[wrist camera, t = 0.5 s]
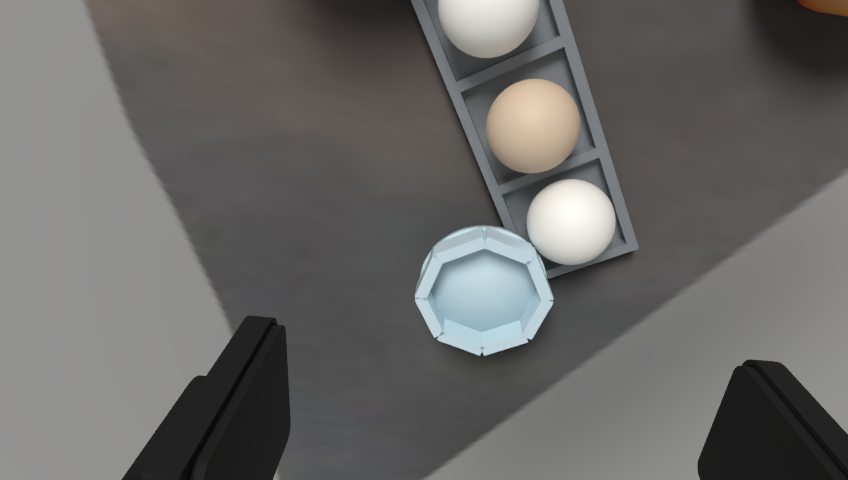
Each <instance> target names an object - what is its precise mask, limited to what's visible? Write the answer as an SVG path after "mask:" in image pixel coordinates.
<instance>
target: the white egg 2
mask: <svg viewBox="0 0 848 480" xmlns="http://www.w3.org/2000/svg"><path fill="white" fill-rule="evenodd" d="M526 223H527V231H528V235H529V238H530V240H531V242H532V244H533V245H534V247H535V248H536V249H537V250H538V252H539V253H541V254H542V255H543V256H544V257H546V258H547V259H549V260H551V261H553V262H556V263H559V264H564V265H577V264H582V263H586V262H588V261H591V260H592V259H594V258H596V257H597V256H599V255H600V254H601V253H602V252H603V251H604V250H605V249H606V248H607V246H608V245H609V243H610V242H611V240H612V238H613V235H614V231H615V226H616V218H615V212H614V208H613V206H612V203H611V201H610V200H609V198H608V197H607V196H606V194H605V193H604V192H603V191H602V190H601V189H599V188H598V187H597V186H595V185H593V184H591V183H589V182H586V181H583V180H578V179H565V180H560V181H557V182H554V183H552V184H550V185H548V186H546V187H545V188H544V189H542V190H541V191H540V192H539V193H538V194H537V195H536V196H535V198H534V199H533V201H532V203H531V205H530V207H529V210H528V214H527V221H526Z"/></svg>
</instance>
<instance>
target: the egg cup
mask: <svg viewBox="0 0 848 480" xmlns="http://www.w3.org/2000/svg"><path fill="white" fill-rule="evenodd" d="M552 299H554V298H553V295H552V291H551V288H550V285H549V282H548V279H547V275H546V271H545V267H544V264H543V261H542V259H541V257H540V255H539V253H538V252H537V250H536V249H535V247H533V245H532V244H531V243H530V242H529V241H527V240H526V239H525V238H524V237H522V236H521V235H519V234H518V233H516V232H513V231H511V230H509V229H506V228H503V227H499V226H494V225H474V226H468V227H464V228H461V229H458V230H456V231H453V232H451V233H449V234H448V235H446V236H445V237H443V238H442V239H441V240H439V241H438V242H437V243H436V244H435V245H434V246H433V247H432V249H431V250H430V251H429V253H428V254H427V256H426V258H425V260H424V263H423V266H422V270H421V275H420V278H419V281H418V283H417V287H416V292H415V302H416V304H417V305H418V307H419V309H420V311H421V313H422V315H423V317H424V319H425V321H426V323H427V325H428V327H429V329H430V331H431V333H432V335H433V336H434V337H437V340H438V341H441V342H444V343H446V344H449V345H452V346H455V347H457V348H460V349H463V350H466V351H468V352H471V353H474V354H477V355H479V356H480V355H481V353H482V352H483V354H484V356H485V355H488V354H492V353H495V352H498V351H502V350H505V349H508V348H511V347H515V346H518V345H521V344H525V343H528V339H531V340H532V338H533V337H534V335H535V333H536V332H537V330H538V328H539V327H540V325H541V323H542V321H543V320H544V318H545V316H546V315H547V313H548V311H549V310H550V308H551V306H552V305H553V300H552Z"/></svg>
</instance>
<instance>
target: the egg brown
mask: <svg viewBox="0 0 848 480" xmlns="http://www.w3.org/2000/svg"><path fill="white" fill-rule="evenodd" d="M579 133H580V115H579V111H578V108H577V105H576V103H575V102H574V100H573V98H572V97H571V95H570V94H569V93H568V92H567V91H566V90H565V89H564V88H562V87H561V86H559V85H558V84H556V83H554V82H551V81H548V80H544V79H527V80H522V81H519V82H516V83H514V84H512V85H510V86H509V87H508V88H506V89H505V90H504V91H502V92H501V93H500V94H499V96H498V97H497V98H496V99H495V101H494V102H493V104H492V106H491V108H490V110H489V113H488V116H487V121H486V135H487V140H488V143H489V146H490V148H491V150H492V152H493V153H494V155H495V156H496V157H497V159H498V160H499V161H500V162H502V163H503V164H504V165H506V166H507V167H509V168H511V169H513V170H515V171H518V172H522V173H539V172H544V171H547V170H550V169H552V168H554V167H556V166H557V165H559V164H560V163H561V162H563V161H564V160H565V159H566V158H567V157H568V156H569V155H570V153H571V152H572V150H573V149H574V147H575V145H576V143H577V141H578V137H579Z"/></svg>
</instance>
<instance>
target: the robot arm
mask: <svg viewBox="0 0 848 480" xmlns="http://www.w3.org/2000/svg"><path fill="white" fill-rule="evenodd" d="M289 432H290V404H289V385H288V366H287V346H286V330H285V326H282V325H277V321H276V319H275V318H271V317H260V316H247V317H246V318H245V319H244V320H243V322H242V323H241V325H240V326H239V328H238V329H237V331H236V332H235V334H234V335H233V337H232V338H231V340H230V341H229V343H228V344H227V346H226V347H225V349H224V350H223V352H222V353H221V355H220V356H219V358H218V359H217V361H216V362H215V364H214V365H213V367H212V369H211V370H210V371H209V373H208V374H207V376H197V377H195V378H194V379H193V380H192V381H191V382H190V383H189V384H188V386H187V387H186V389H185V390H184V392H183V393H182V394H181V396H180V397H179V399H178V400H177V401H176V403H175V404H174V406H173V407H172V409H171V410H170V411H169V413H168V415H167V416H166V417H165V419H164V420H163V422H162V423H161V424H160V426H159V427H158V429H157V430H156V431H155V433H154V434H153V436H152V437H151V439H150V440H149V442H148V443H147V444H146V446H145V447H144V449H143V450H142V451H141V453H140V454H139V456H138V457H137V458H136V460H135V462H134V463H133V464H132V466H131V467H130V468H129V470H128V471H127V473H126V474H125V476H124V477H123V478H122V480H273V477H274V475H275V472H276V470H277V467H278V464H279V462H280V459H281V456H282V454H283V451H284V449H285V446H286V443H287V441H288V437H289ZM698 474H699V477H700V480H848V434H847V433H846V432H845V431H844V430H843V429H842V428H841V427H840V426H839V425H838V424H837V422H836V421H835V420H834V419H833V418H832V417H831V416H830V415H829V414H828V413H827V412H826V410H824V408H823V407H822V406H821V405H820V404H819V403H818V402H817V401H816V400H815V398H814V397H812V395H811V394H810V393H809V392H808V391H807V390H806V389H805V388H804V386H802V384H801V383H800V382H799V381H798V380H797V379H796V378H795V377H794V376H793V375H792V374H791V372H790V371H789V370H788V369H787V368H786V367H785V366H784V365H782V364H781V363H779V362H773V361H762V360H746V361H745V362H744V363H743V365H742V366H737V367H736V368H735V370H734V371H733V374H732V376H731V379H730V381H729V384H728V386H727V389H726V391H725V394H724V396H723V399H722V401H721V404H720V407H719V409H718V412H717V414H716V417H715V419H714V422H713V424H712V427H711V429H710V432H709V434H708V437H707V440H706V442H705V444H704V447H703V450H702V452H701V455H700V457H699V460H698Z"/></svg>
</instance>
